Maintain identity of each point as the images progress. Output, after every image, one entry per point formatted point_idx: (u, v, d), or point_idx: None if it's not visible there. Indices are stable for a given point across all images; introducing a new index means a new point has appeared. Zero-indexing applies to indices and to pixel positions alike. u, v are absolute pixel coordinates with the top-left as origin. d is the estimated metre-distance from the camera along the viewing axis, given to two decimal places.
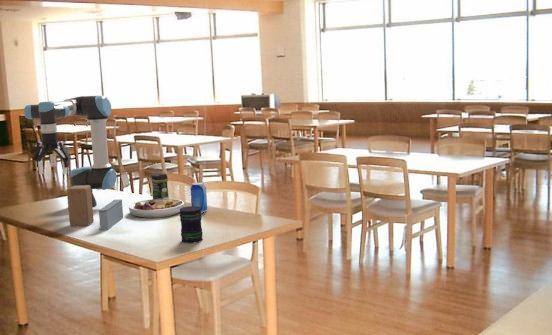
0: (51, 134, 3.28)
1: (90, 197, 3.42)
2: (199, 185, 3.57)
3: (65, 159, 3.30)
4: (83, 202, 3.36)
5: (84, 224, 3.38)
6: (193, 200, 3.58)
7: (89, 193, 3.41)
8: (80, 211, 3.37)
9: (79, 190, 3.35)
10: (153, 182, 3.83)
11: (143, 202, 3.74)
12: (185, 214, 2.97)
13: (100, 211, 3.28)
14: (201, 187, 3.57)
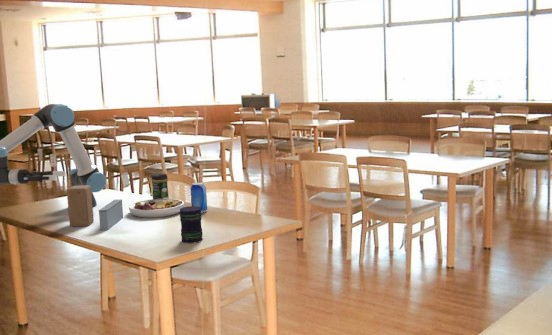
0: (19, 182, 3.38)
1: (90, 197, 3.42)
2: (199, 185, 3.57)
3: (40, 180, 3.32)
4: (83, 202, 3.36)
5: (84, 224, 3.38)
6: (193, 200, 3.58)
7: (89, 193, 3.41)
8: (80, 211, 3.37)
9: (79, 190, 3.35)
10: (153, 182, 3.83)
11: (143, 202, 3.74)
12: (185, 214, 2.97)
13: (100, 211, 3.28)
14: (201, 187, 3.57)
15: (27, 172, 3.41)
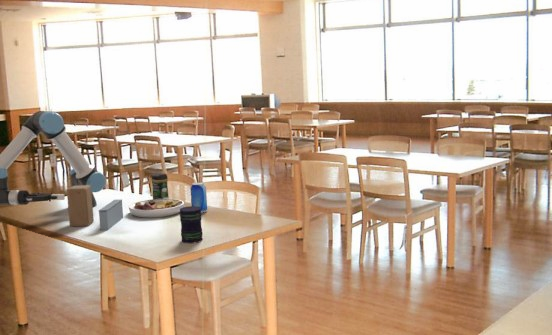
0: (19, 203, 3.39)
1: (90, 197, 3.42)
2: (199, 185, 3.57)
3: (49, 199, 3.39)
4: (83, 202, 3.36)
5: (84, 224, 3.38)
6: (193, 200, 3.58)
7: (89, 193, 3.41)
8: (80, 211, 3.37)
9: (79, 190, 3.35)
10: (153, 182, 3.83)
11: (143, 202, 3.74)
12: (185, 214, 2.97)
13: (100, 211, 3.28)
14: (201, 187, 3.57)
15: (27, 193, 3.42)
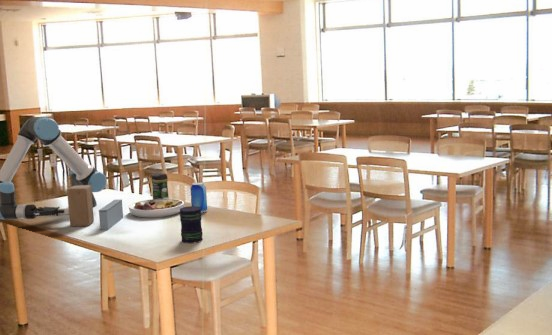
0: (26, 217, 3.41)
1: (90, 197, 3.42)
2: (199, 185, 3.57)
3: (56, 213, 3.40)
4: (84, 202, 3.36)
5: (84, 224, 3.38)
6: (193, 200, 3.58)
7: (89, 193, 3.40)
8: (81, 210, 3.37)
9: (79, 190, 3.35)
10: (153, 182, 3.83)
11: (143, 202, 3.74)
12: (185, 214, 2.97)
13: (100, 211, 3.28)
14: (201, 187, 3.57)
15: (34, 207, 3.43)
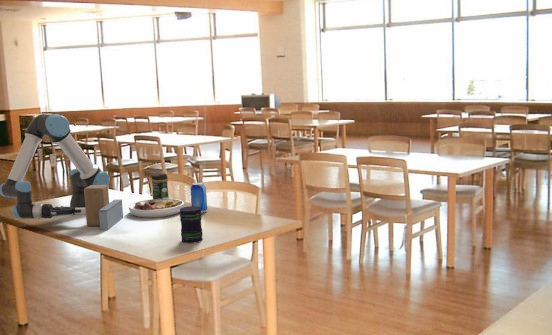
0: (43, 216, 3.40)
1: (107, 197, 3.42)
2: (199, 185, 3.57)
3: (73, 213, 3.40)
4: (100, 201, 3.35)
5: None
6: (193, 200, 3.58)
7: (106, 193, 3.40)
8: (97, 210, 3.36)
9: (96, 190, 3.34)
10: (153, 182, 3.83)
11: (143, 202, 3.74)
12: (185, 214, 2.97)
13: (100, 211, 3.28)
14: (201, 187, 3.57)
15: (51, 207, 3.43)
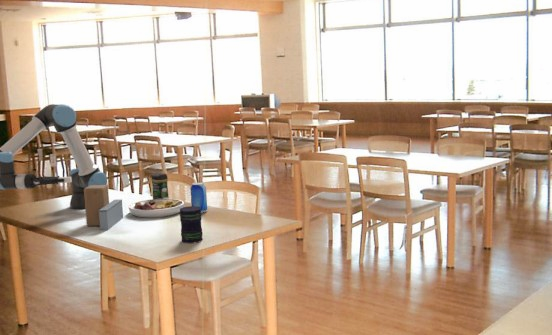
0: (26, 186, 3.38)
1: (107, 197, 3.42)
2: (199, 185, 3.57)
3: (56, 182, 3.38)
4: (100, 201, 3.35)
5: None
6: (193, 200, 3.58)
7: (106, 193, 3.40)
8: (97, 210, 3.36)
9: (96, 190, 3.34)
10: (153, 182, 3.83)
11: (143, 202, 3.74)
12: (185, 214, 2.97)
13: (100, 211, 3.28)
14: (201, 187, 3.57)
15: (34, 177, 3.41)
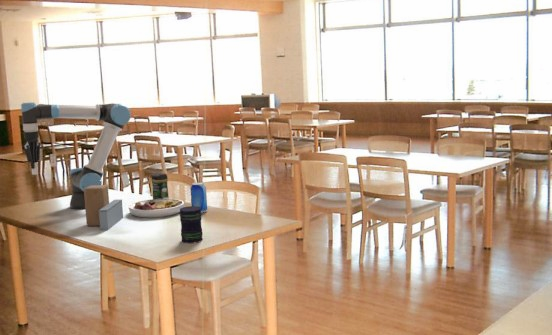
0: (24, 133, 3.53)
1: (107, 197, 3.42)
2: (199, 185, 3.57)
3: None
4: (100, 201, 3.35)
5: None
6: (193, 200, 3.58)
7: (106, 193, 3.40)
8: (97, 210, 3.36)
9: (96, 190, 3.34)
10: (153, 182, 3.83)
11: (143, 202, 3.74)
12: (185, 214, 2.97)
13: (100, 211, 3.28)
14: (201, 187, 3.57)
15: (35, 138, 3.56)
